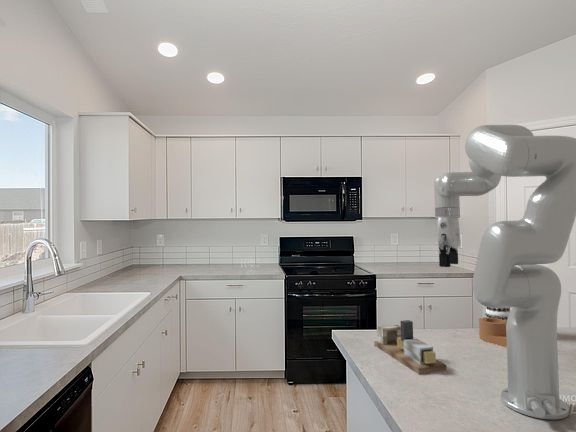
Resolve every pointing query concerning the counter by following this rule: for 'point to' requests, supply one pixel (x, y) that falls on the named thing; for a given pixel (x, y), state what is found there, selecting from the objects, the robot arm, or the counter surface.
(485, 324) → the bracket
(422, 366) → the sliding bolt latch
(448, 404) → the counter surface
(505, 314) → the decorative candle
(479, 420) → the counter surface
